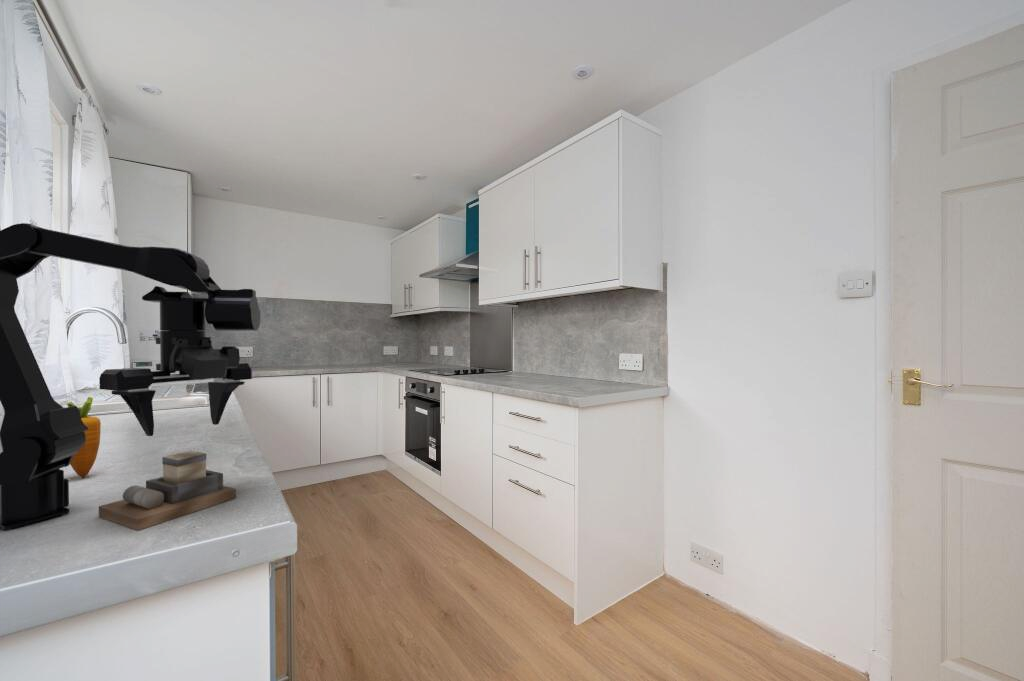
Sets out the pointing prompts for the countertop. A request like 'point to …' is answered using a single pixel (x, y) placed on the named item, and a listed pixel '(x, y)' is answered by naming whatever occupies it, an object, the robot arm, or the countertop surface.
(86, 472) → the carrot
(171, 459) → the beige banded block
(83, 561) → the countertop surface
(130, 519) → the base
